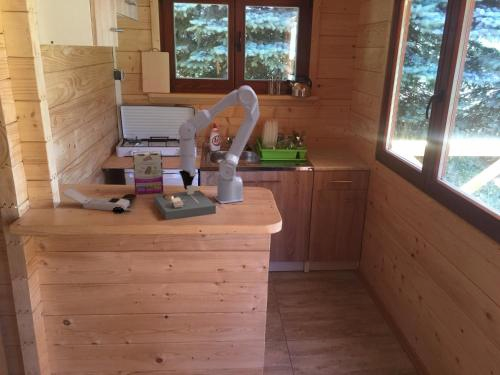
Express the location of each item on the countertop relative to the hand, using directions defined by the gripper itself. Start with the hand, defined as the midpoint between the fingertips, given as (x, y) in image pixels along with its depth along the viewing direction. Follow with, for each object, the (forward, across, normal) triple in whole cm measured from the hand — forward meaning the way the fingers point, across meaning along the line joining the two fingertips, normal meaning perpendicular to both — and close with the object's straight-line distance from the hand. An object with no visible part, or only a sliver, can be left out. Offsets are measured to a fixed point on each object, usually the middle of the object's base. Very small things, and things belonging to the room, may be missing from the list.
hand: (187, 189), depth 162 cm
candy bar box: (+4, -14, -12) cm, 19 cm away
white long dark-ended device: (+5, -3, -32) cm, 33 cm away
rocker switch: (0, +14, -8) cm, 16 cm away
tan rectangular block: (+1, +3, 0) cm, 3 cm away
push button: (+4, +4, -8) cm, 9 cm away
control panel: (+4, +8, -4) cm, 10 cm away
